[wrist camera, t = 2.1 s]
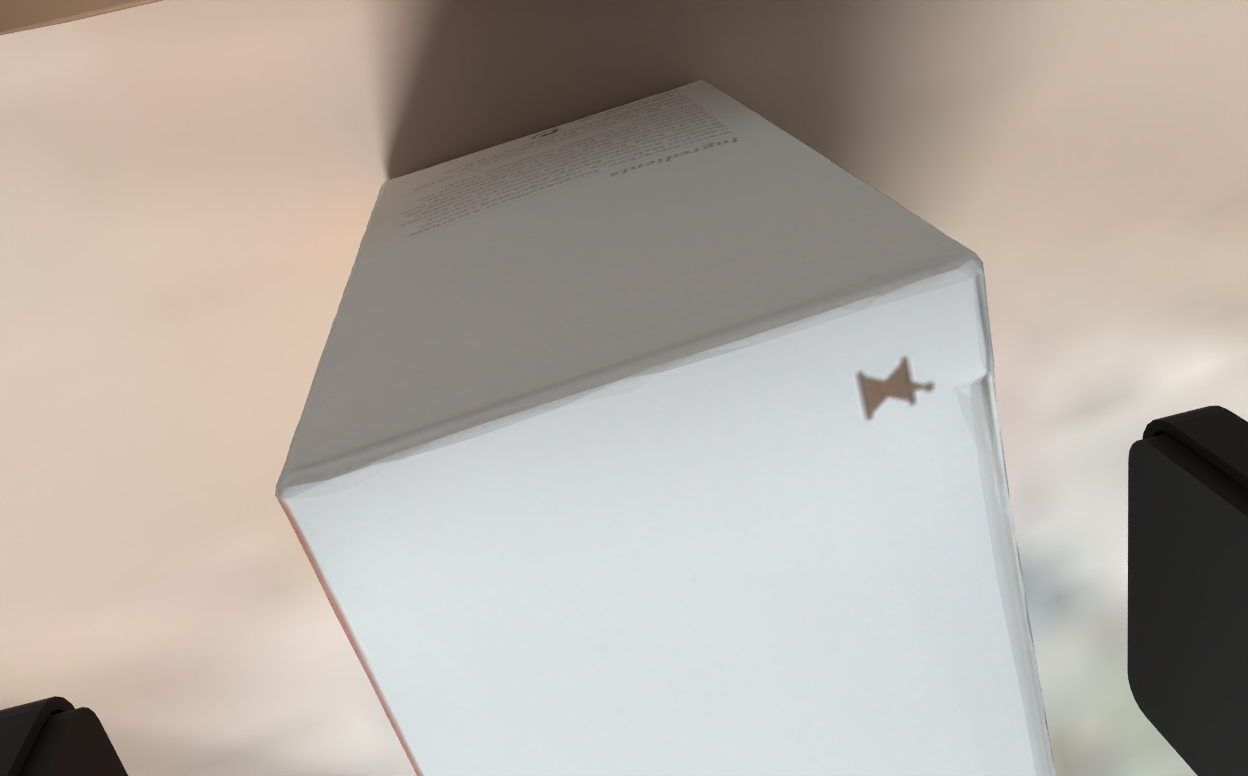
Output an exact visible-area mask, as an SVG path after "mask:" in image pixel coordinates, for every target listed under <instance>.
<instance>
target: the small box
mask: <svg viewBox="0 0 1248 776" xmlns="http://www.w3.org/2000/svg"><path fill="white" fill-rule="evenodd" d="M275 496H276V497H277V499H278V501H279V503H280V504H281V506H282V508H283V510H284V511H285V513H286V515H287V517H288V519H289V521H290V523H291V525H292V527H293V529H294V531H295V533H296V535H297V537H298V539H299V541H300V543H301V545H302V547H303V549H304V551H305V553H306V555H307V557H308V559H309V561H310V563H311V565H312V567H313V569H314V571H315V573H316V575H317V577H318V579H319V581H320V583H321V585H322V587H323V589H324V591H325V593H326V596H327V598H328V600H329V602H330V604H331V606H332V608H333V610H334V612H335V614H336V616H337V618H338V620H339V622H340V624H341V626H342V628H343V629H344V631H345V633H346V635H347V637H348V639H349V641H350V643H351V645H352V647H353V649H354V651H355V653H356V655H357V657H358V658H359V660H360V662H361V664H362V666H363V668H364V670H365V672H366V674H367V676H368V678H369V680H370V682H371V684H372V686H373V688H374V690H375V692H376V694H377V696H378V698H379V700H380V702H381V704H382V706H383V708H384V710H385V712H386V714H387V716H388V718H389V720H390V722H391V724H392V726H393V728H394V730H395V732H396V734H397V736H398V738H399V740H400V742H401V744H402V746H403V748H404V750H405V752H406V754H407V756H408V758H409V760H410V762H411V764H412V766H413V768H414V770H415V772H416V774H417V776H1056V772H1055V766H1054V761H1053V756H1052V750H1051V744H1050V739H1049V733H1048V727H1047V721H1046V715H1045V709H1044V703H1043V697H1042V692H1041V686H1040V680H1039V675H1038V669H1037V663H1036V657H1035V651H1034V645H1033V639H1032V633H1031V627H1030V621H1029V615H1028V608H1027V602H1026V596H1025V590H1024V584H1023V577H1022V571H1021V565H1020V558H1019V553H1018V548H1017V542H1016V536H1015V528H1014V521H1013V516H1012V510H1011V505H1010V499H1009V488H1008V481H1007V474H1006V467H1005V459H1004V452H1003V445H1002V439H1001V432H1000V425H999V418H998V411H997V404H996V393H995V374H994V358H993V350H992V341H991V333H990V324H989V315H988V305H987V295H986V285H985V277H984V269H983V262H982V261H981V259H980V258H979V257H978V256H977V254H976V253H974V252H973V251H971V250H970V249H968V248H967V247H965V246H964V245H962V244H960V243H959V242H957V241H955V240H954V239H952V238H950V237H949V236H947V235H945V234H944V233H942V232H941V231H939V230H938V229H936V228H935V227H933V226H932V225H930V224H929V223H927V222H926V221H924V220H923V219H921V218H920V217H919V216H917V215H915V214H913V213H912V212H910V211H908V210H907V209H906V208H904V207H903V206H901V205H900V204H898V203H897V202H895V201H894V200H892V199H890V198H889V197H887V196H885V195H884V194H882V193H881V192H879V191H877V190H876V189H874V188H873V187H871V186H869V185H868V184H866V183H865V182H863V181H861V180H860V179H858V178H857V177H855V176H854V175H852V174H850V173H849V172H847V171H846V170H844V169H843V168H841V167H839V166H837V165H836V164H835V163H833V162H832V161H830V160H829V159H828V158H826V157H824V156H823V155H821V154H820V153H818V152H817V151H815V150H814V149H812V148H810V147H809V146H807V145H806V144H804V143H803V142H801V141H800V140H798V139H796V138H795V137H793V136H792V135H790V134H788V133H787V132H785V131H784V130H782V129H780V128H779V127H777V126H776V125H774V124H773V123H771V122H770V121H768V120H767V119H765V118H764V117H762V116H761V115H759V114H757V113H756V112H754V111H752V110H751V109H749V108H748V107H746V106H744V105H743V104H742V103H740V102H738V101H737V100H735V99H733V98H732V97H730V96H729V95H727V94H725V93H724V92H722V91H721V90H720V89H718V88H716V87H714V86H713V85H711V84H710V83H708V82H706V81H705V80H698V81H695V82H692V83H689V84H686V85H683V86H681V87H678V88H675V89H672V90H669V91H666V92H663V93H660V94H656V95H653V96H650V97H647V98H644V99H640V100H637V101H634V102H631V103H628V104H625V105H621V106H618V107H615V108H612V109H609V110H606V111H603V112H600V113H597V114H594V115H590V116H587V117H584V118H581V119H578V120H575V121H572V122H569V123H566V124H563V125H559V126H556V127H553V128H550V129H547V130H544V131H540V132H537V133H534V134H531V135H528V136H525V137H521V138H518V139H515V140H512V141H509V142H506V143H503V144H499V145H496V146H493V147H490V148H487V149H484V150H481V151H478V152H475V153H472V154H468V155H465V156H462V157H459V158H456V159H453V160H450V161H447V162H444V163H441V164H438V165H435V166H432V167H429V168H426V169H422V170H419V171H416V172H413V173H410V174H407V175H404V176H401V177H397V178H394V179H391V180H388V181H386V182H384V184H383V185H382V186H381V188H380V191H379V194H378V197H377V201H376V203H375V205H374V208H373V211H372V213H371V217H370V219H369V222H368V225H367V229H366V232H365V234H364V236H363V238H362V241H361V244H360V248H359V251H358V254H357V257H356V260H355V263H354V266H353V268H352V271H351V275H350V277H349V279H348V282H347V285H346V287H345V290H344V293H343V297H342V300H341V302H340V305H339V308H338V312H337V314H336V317H335V319H334V321H333V324H332V327H331V330H330V333H329V336H328V339H327V342H326V345H325V347H324V350H323V353H322V355H321V358H320V361H319V364H318V367H317V370H316V373H315V376H314V379H313V382H312V385H311V388H310V391H309V394H308V398H307V401H306V404H305V407H304V410H303V413H302V416H301V419H300V421H299V423H298V426H297V428H296V431H295V434H294V436H293V439H292V442H291V445H290V449H289V452H288V455H287V459H286V462H285V465H284V467H283V470H282V472H281V475H280V477H279V480H278V482H277V485H276V494H275Z"/></svg>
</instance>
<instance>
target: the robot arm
mask: <svg viewBox="0 0 1248 776" xmlns="http://www.w3.org/2000/svg"><path fill="white" fill-rule="evenodd" d="M1128 680H1129V684H1130V688H1131V691H1132V693H1133V696H1134V698H1135V701H1136V702H1137V704H1138V706H1139V708H1140V709H1141V711H1142V712H1143V713H1144V715H1145V716H1146V717H1147V719H1148V720H1149V721H1150V722H1151V723H1152V724H1153V725H1154V726H1155V728H1156V729H1157V730H1158V731H1159V732H1160V733H1161V734H1162V736H1163V737H1164V738H1165V739H1166V740H1167V741H1168V742H1169V744H1170V745H1171V746H1172V747H1173V748H1174V749H1175V750H1176V752H1177V753H1178V754H1179V755H1180V756H1181V757H1182V758H1183V759H1184V761H1185V762H1186V763H1187V764H1188V765H1189V766H1190V767H1191V769H1192V770H1193V771H1194V772H1195V773H1196V774H1197V775H1198V776H1248V422H1247V421H1245V420H1244V419H1242V418H1240V417H1239V416H1237V415H1236V414H1234V413H1232V412H1231V411H1229V410H1228V409H1225V408H1223V407H1220V406H1208V407H1204V408H1200V409H1196V410H1192V411H1188V412H1184V413H1180V414H1176V415H1172V416H1168V417H1164V418H1160V419H1156V420H1153V421H1152V422H1150V423H1149V424H1148V425H1147V427H1146V429H1145V431H1144V433H1143V440H1139V441H1136V442H1135V443H1133V444H1132V446H1131V448H1130V451H1129V461H1128ZM0 776H128V774H127V773H126V771H125V769H124V767H123V765H122V763H121V761H120V759H119V757H118V755H117V753H116V751H115V749H114V747H113V746H112V744H111V742H110V740H109V738H108V736H107V734H106V732H105V730H104V728H103V726H102V724H101V722H100V720H99V719H98V717H97V716H96V714H95V713H94V712H93V711H92V710H90V709H89V708H85V707H81V708H78V709H75V708H74V707H73V705H72V704H71V703H70V702H69V701H67V700H66V699H65V698H62V697H56V696H55V697H51V698H47V699H43V700H39V701H35V702H31V703H27V704H23V705H19V706H15V707H11V708H7V709H3V710H0Z"/></svg>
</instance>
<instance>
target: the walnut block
mask: <svg viewBox="0 0 1248 776" xmlns="http://www.w3.org/2000/svg"><path fill="white" fill-rule="evenodd" d="M157 1H162V0H0V35H4V34H9V33H14V32H19V31H24V30H30V29H35V28H40V27H45V26H50V25H55V24H61V23H66V22H70V21H75V20H79V19H83V18H88V17H92V16H96V15H101V14H105V13H109V12H114V11H118V10H122V9H127V8H131V7H136V6H140V5H144V4H149V3H153V2H157Z"/></svg>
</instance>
